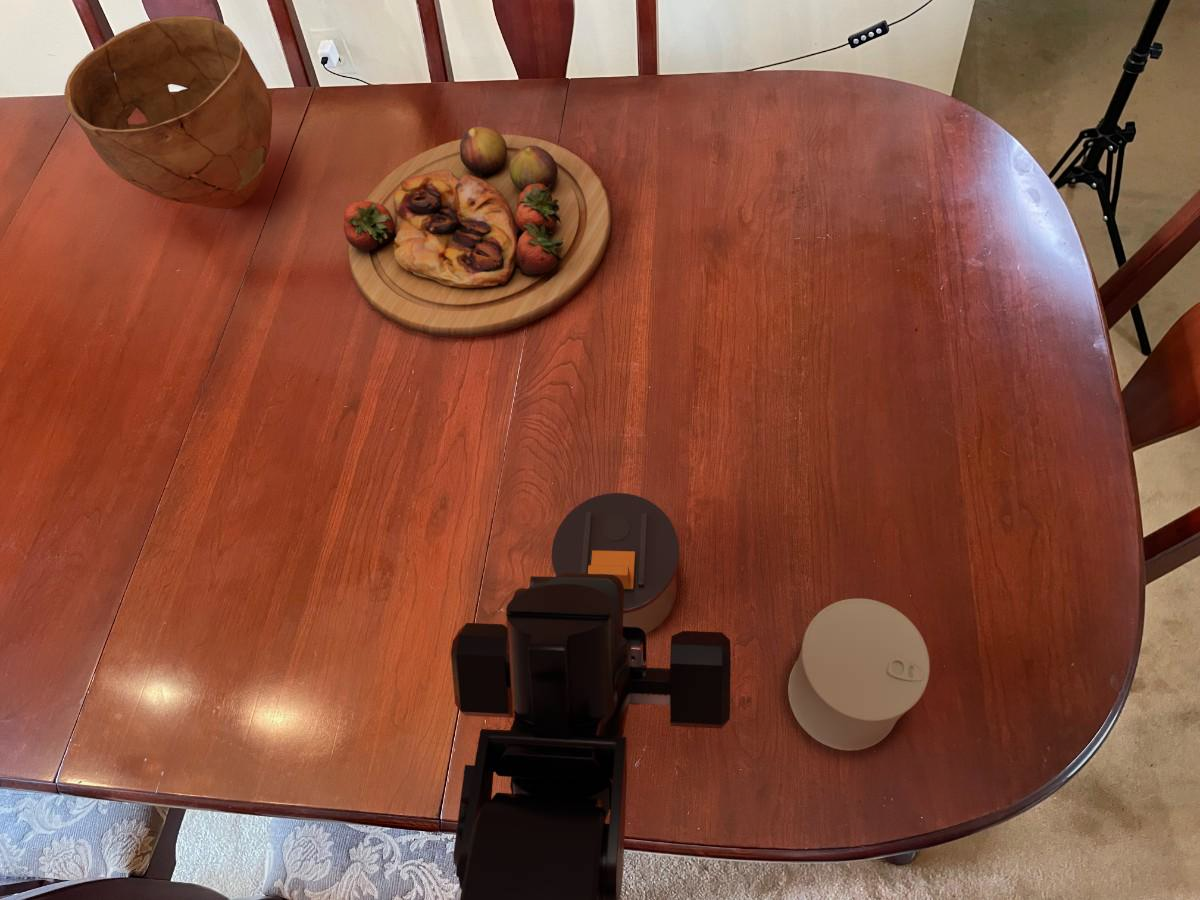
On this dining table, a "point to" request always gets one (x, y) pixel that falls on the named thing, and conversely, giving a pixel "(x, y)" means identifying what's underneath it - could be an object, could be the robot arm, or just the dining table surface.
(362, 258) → the wooden plate
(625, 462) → the dining table surface
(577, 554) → the round container with rails
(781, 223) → the dining table surface
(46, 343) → the dining table surface
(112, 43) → the bowl
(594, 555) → the slider
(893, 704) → the can
